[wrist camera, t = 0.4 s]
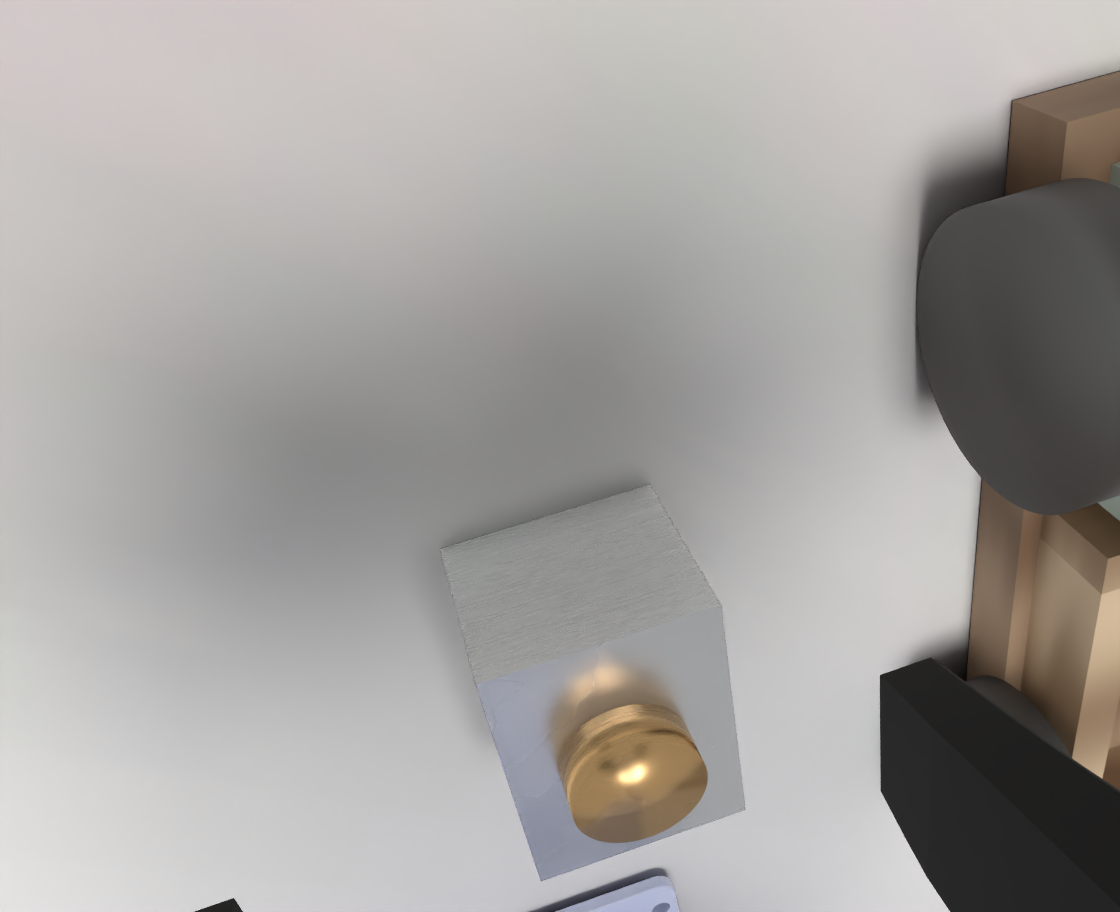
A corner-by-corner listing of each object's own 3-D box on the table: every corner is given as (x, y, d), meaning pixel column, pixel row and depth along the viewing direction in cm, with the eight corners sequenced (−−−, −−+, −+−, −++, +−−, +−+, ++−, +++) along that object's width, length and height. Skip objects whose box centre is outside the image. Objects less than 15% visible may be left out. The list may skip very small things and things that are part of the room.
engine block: (679, 675, 25) (765, 849, 20) (500, 735, 24) (553, 925, 20) (648, 480, 21) (743, 642, 17) (439, 544, 21) (487, 728, 17)
